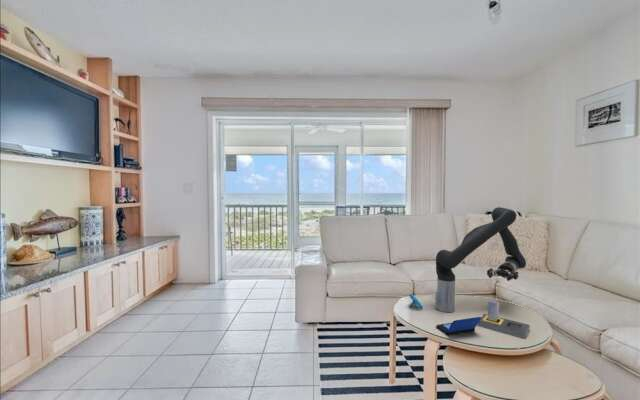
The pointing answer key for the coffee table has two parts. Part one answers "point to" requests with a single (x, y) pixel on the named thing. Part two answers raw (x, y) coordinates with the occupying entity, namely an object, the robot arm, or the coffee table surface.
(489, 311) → the brushed steel peg
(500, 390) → the coffee table surface
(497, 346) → the coffee table surface
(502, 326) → the plate with square holes
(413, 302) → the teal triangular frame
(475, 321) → the handheld game console
